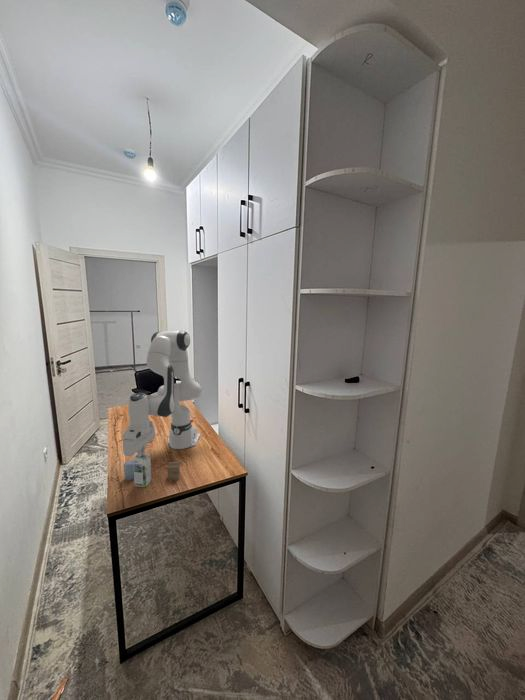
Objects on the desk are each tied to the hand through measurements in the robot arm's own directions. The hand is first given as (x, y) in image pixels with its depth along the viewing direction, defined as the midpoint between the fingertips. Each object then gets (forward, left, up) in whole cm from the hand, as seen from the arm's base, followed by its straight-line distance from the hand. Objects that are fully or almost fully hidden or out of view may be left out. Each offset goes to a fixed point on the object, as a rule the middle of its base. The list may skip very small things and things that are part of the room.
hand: (141, 455), depth 138 cm
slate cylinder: (-3, -9, -15) cm, 18 cm away
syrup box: (0, 0, -15) cm, 15 cm away
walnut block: (-8, +12, -15) cm, 21 cm away
